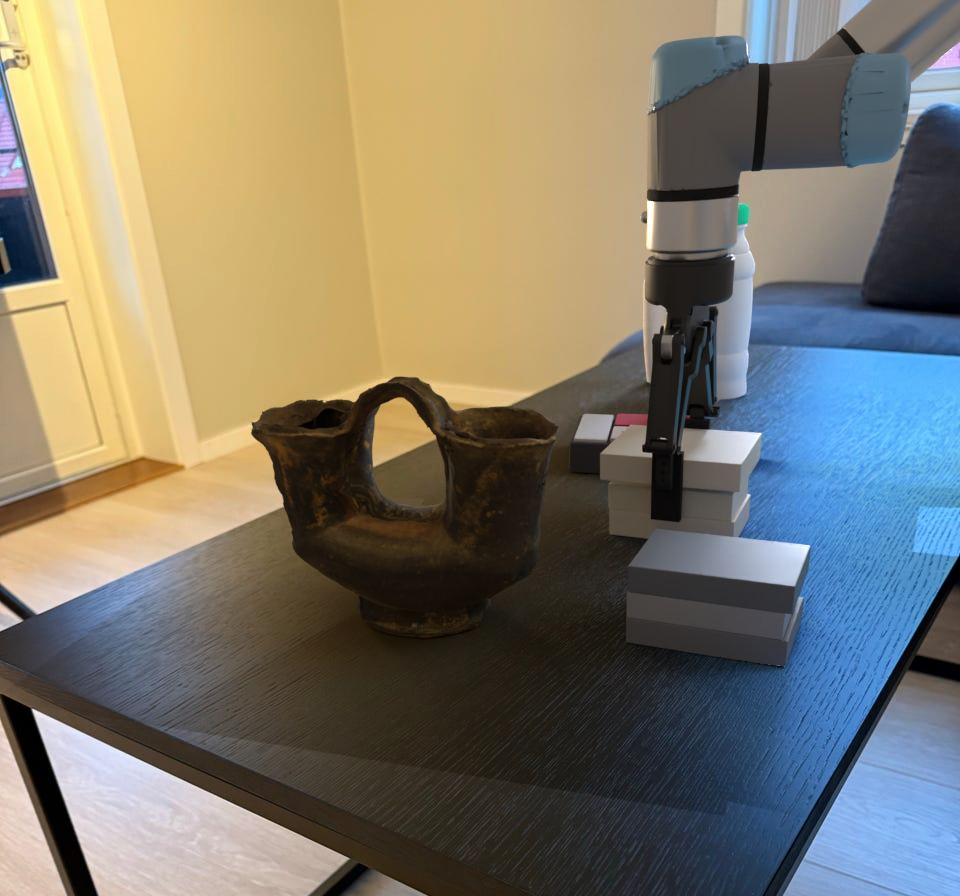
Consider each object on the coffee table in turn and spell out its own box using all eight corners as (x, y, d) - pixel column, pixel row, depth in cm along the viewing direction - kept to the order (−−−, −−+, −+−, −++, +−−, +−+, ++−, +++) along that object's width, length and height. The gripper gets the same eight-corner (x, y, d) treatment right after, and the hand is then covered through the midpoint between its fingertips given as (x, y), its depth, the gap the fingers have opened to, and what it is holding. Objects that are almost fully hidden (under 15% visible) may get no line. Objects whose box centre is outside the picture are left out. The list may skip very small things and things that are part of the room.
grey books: (802, 621, 73) (811, 544, 70) (786, 668, 68) (795, 586, 64) (652, 601, 78) (654, 528, 75) (625, 642, 72) (626, 565, 69)
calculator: (705, 442, 102) (569, 435, 105) (701, 479, 104) (568, 472, 107) (705, 413, 112) (580, 408, 114) (701, 448, 114) (579, 442, 117)
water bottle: (700, 395, 132) (709, 202, 120) (750, 398, 129) (765, 200, 117) (686, 409, 127) (695, 208, 115) (739, 412, 124) (753, 206, 112)
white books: (749, 519, 92) (752, 468, 90) (732, 548, 86) (736, 495, 84) (630, 507, 97) (631, 459, 94) (608, 534, 91) (607, 483, 89)
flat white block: (760, 459, 90) (762, 432, 89) (739, 492, 82) (741, 464, 81) (630, 449, 95) (630, 424, 94) (599, 480, 88) (599, 453, 86)
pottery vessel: (262, 627, 79) (213, 393, 69) (321, 573, 88) (285, 359, 78) (545, 658, 71) (535, 400, 61) (579, 596, 80) (575, 361, 70)
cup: (692, 375, 142) (697, 272, 135) (691, 388, 136) (695, 280, 129) (644, 376, 144) (646, 274, 137) (640, 388, 138) (642, 282, 130)
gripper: (680, 236, 89) (672, 460, 100) (606, 273, 72) (606, 539, 83) (759, 235, 86) (742, 466, 97) (702, 273, 69) (689, 549, 80)
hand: (680, 500), depth 90 cm, fingers closed on flat white block, 9 cm apart
